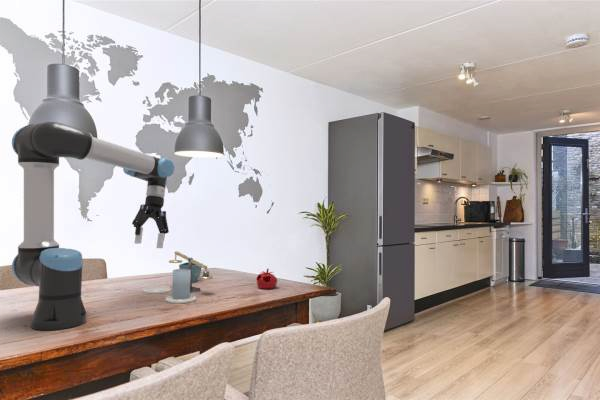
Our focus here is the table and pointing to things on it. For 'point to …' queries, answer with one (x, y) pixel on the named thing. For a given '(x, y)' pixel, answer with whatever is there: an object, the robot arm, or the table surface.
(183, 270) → the cup
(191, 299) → the dish low
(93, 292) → the table surface
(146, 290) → the dish high
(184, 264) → the flower pot
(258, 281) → the pomegranate
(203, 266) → the balance
